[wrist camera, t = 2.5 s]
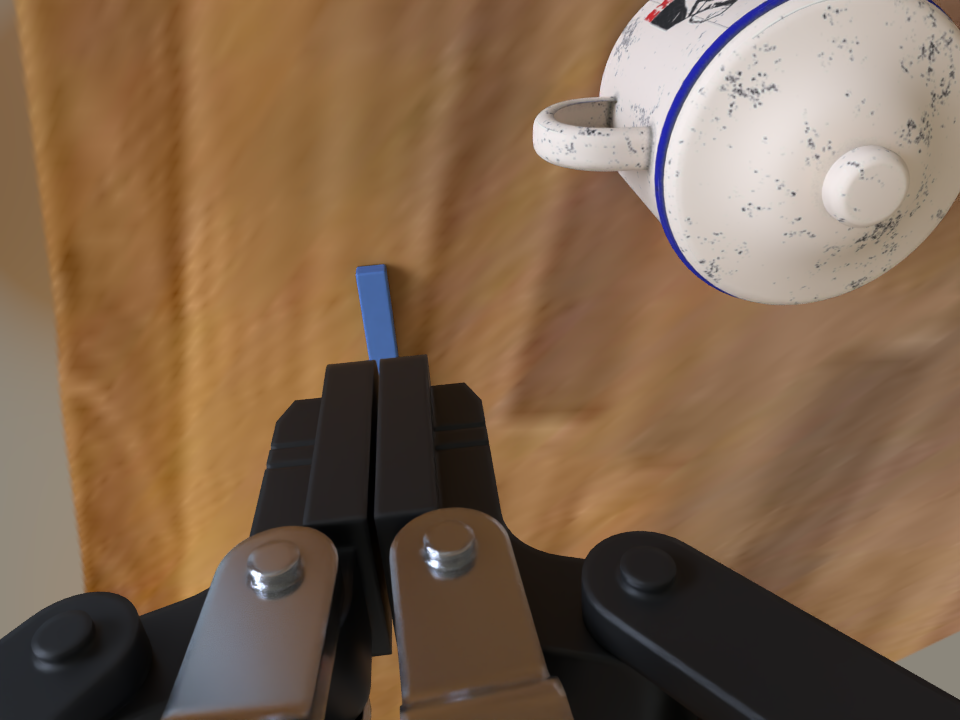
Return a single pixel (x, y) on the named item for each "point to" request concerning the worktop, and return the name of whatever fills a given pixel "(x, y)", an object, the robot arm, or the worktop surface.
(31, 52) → the worktop surface
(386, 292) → the spoon
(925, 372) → the worktop surface
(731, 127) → the teacup with lid
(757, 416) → the worktop surface
